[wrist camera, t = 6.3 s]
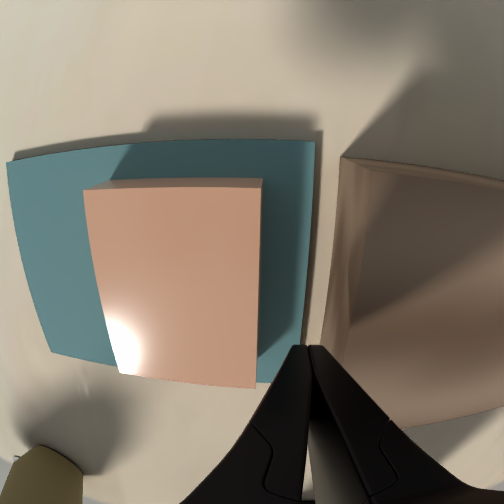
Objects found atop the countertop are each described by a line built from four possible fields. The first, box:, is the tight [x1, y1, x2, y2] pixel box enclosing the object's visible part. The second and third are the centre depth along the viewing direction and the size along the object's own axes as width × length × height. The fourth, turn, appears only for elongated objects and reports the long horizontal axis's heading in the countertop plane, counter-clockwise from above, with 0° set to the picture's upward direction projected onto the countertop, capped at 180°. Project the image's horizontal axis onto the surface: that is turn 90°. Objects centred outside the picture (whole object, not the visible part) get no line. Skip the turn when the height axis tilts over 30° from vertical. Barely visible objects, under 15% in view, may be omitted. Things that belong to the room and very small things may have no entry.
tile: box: [83, 177, 263, 389], centre depth 12 cm, size 8×6×2 cm
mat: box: [6, 139, 315, 383], centre depth 13 cm, size 11×14×1 cm
